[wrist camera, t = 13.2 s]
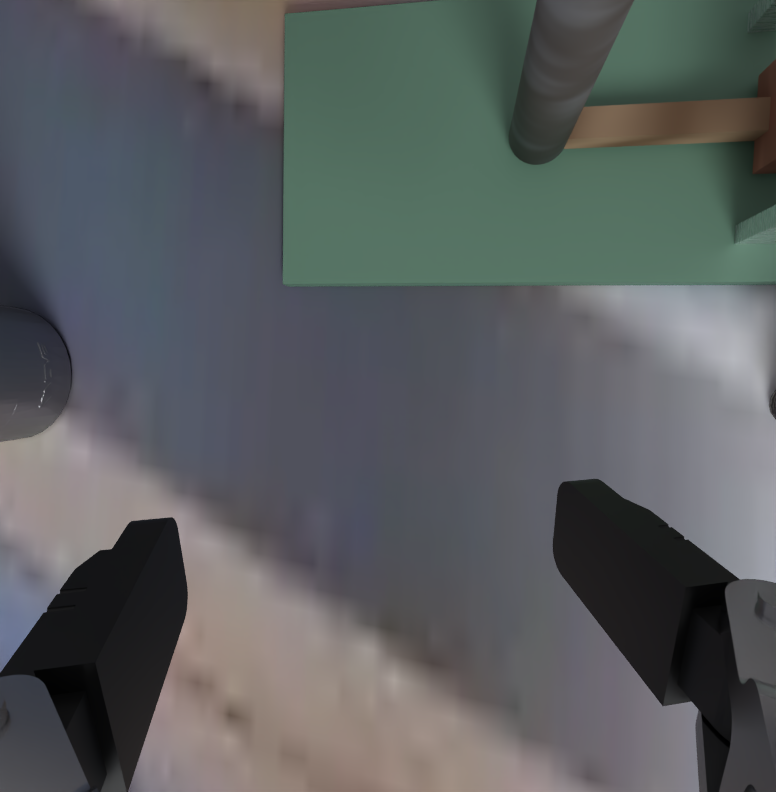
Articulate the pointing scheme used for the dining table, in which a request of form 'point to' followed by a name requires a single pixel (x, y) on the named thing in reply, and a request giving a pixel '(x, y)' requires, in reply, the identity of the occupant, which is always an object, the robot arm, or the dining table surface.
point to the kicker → (617, 124)
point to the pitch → (510, 153)
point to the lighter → (773, 404)
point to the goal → (772, 223)
